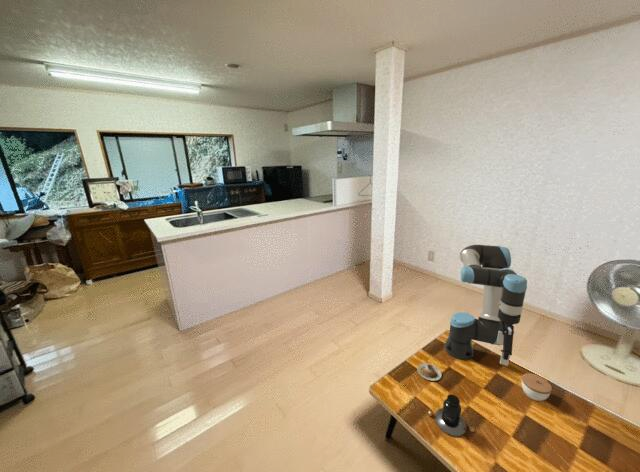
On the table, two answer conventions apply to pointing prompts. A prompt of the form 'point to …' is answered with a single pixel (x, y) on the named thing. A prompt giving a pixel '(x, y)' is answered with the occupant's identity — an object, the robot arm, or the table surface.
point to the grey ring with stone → (429, 371)
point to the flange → (451, 431)
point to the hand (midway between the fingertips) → (501, 353)
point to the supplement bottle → (451, 411)
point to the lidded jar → (536, 387)
